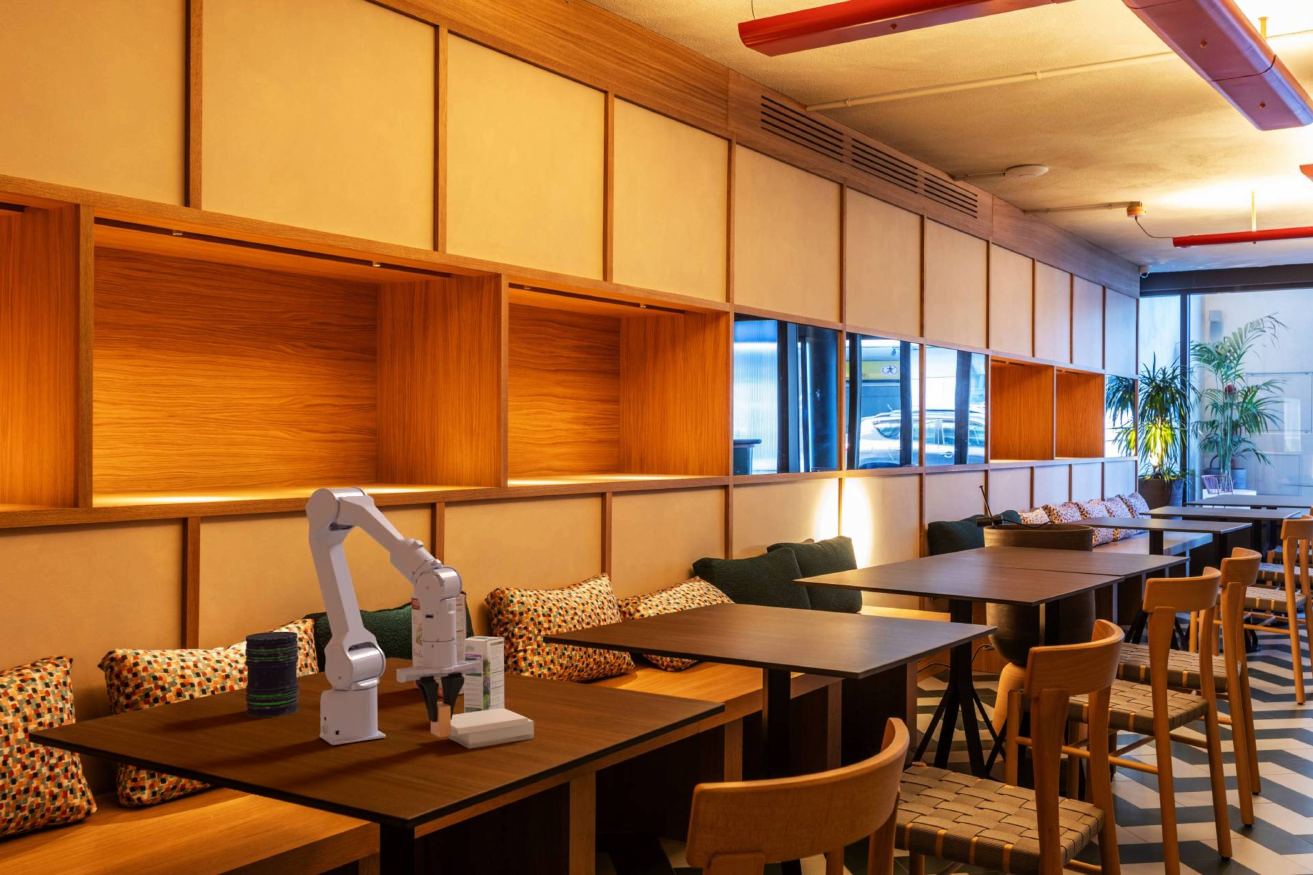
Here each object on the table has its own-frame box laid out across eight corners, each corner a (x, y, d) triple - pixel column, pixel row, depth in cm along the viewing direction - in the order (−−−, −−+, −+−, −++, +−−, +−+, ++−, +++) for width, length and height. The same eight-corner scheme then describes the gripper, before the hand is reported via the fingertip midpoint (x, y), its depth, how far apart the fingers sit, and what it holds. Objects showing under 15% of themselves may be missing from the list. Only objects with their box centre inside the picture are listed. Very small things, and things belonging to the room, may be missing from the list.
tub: (469, 748, 191) (468, 730, 191) (448, 738, 199) (448, 720, 199) (533, 738, 197) (533, 720, 198) (511, 728, 205) (511, 711, 205)
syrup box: (463, 715, 217) (461, 638, 217) (481, 709, 222) (480, 634, 222) (487, 718, 214) (486, 640, 214) (505, 711, 219) (504, 636, 220)
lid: (446, 740, 188) (446, 710, 188) (424, 729, 197) (423, 700, 197) (527, 728, 196) (527, 699, 196) (503, 717, 205) (502, 689, 205)
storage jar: (235, 716, 220) (234, 638, 220) (264, 705, 229) (263, 631, 230) (281, 718, 217) (280, 639, 218) (308, 707, 227) (307, 631, 227)
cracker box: (410, 688, 244) (409, 590, 245) (436, 684, 248) (435, 588, 248) (442, 698, 233) (440, 595, 234) (468, 694, 237) (466, 593, 237)
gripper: (406, 646, 186) (407, 730, 186) (488, 637, 194) (489, 718, 194) (391, 641, 192) (392, 722, 192) (471, 633, 200) (473, 710, 200)
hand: (440, 719), depth 193 cm, fingers closed on lid, 2 cm apart
